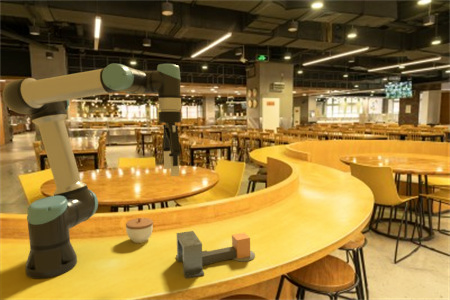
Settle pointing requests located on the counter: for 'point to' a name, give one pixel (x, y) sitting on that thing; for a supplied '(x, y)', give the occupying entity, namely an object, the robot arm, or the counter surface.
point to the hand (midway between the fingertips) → (171, 171)
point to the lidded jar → (139, 229)
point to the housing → (190, 254)
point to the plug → (229, 250)
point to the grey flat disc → (246, 257)
